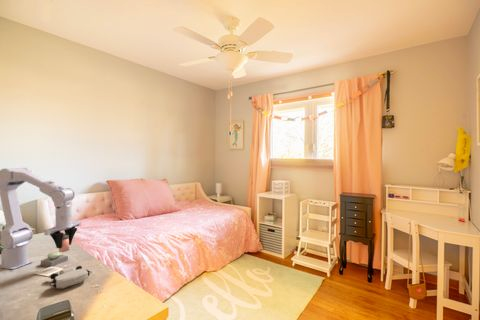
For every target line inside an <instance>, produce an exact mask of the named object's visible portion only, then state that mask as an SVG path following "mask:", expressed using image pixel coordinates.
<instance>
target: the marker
mask: <svg viewBox="0 0 480 320" xmlns="http://www.w3.org/2000/svg"><path fill="white" fill-rule="evenodd" d="M69 250H70V245H69V234H65V233H64V234H63V237H62V248H58V252H61V253H66V252H68V251H69Z"/></svg>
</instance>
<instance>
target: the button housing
mask: <svg viewBox="0 0 480 320" xmlns="http://www.w3.org/2000/svg"><path fill="white" fill-rule="evenodd" d="M68 257H69V256H68V255H64V254H61V256H59V258H57V259H55V260H51V259H50V258H48V257H46V258H44V259H41V260H40V265H41V266H46V267H51V266H52V267H56V266H57V265H60V264H62V263H64V262H65V263H66V262H67V261H68V260H69V258H68Z"/></svg>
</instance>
